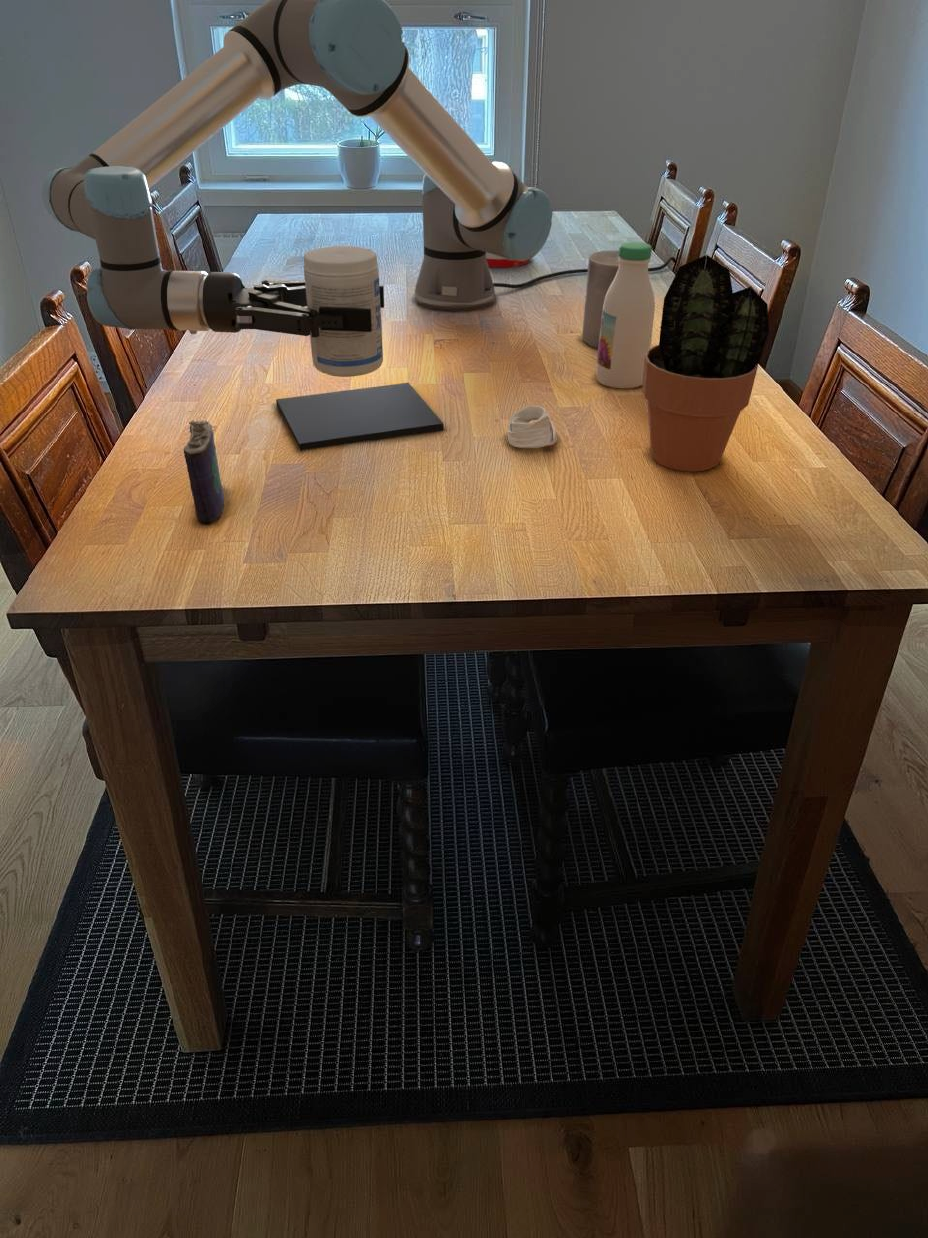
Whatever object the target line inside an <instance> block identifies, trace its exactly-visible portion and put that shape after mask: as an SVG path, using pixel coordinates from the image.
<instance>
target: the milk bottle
mask: <svg viewBox="0 0 928 1238" xmlns="http://www.w3.org/2000/svg"><path fill="white" fill-rule="evenodd" d="M618 250H619V258H618V260H619V268H618V271H617V273H616V276H615V278H614V280H613V282H612V284H611V285H610V287H609V289H608V291H607V294H606V296H605V300H604V304H603V311H602V319H601V329H600V338H599V348H597V360H596V371H595V372H596V373H595V374H596V375H595V378H596V380H597V381H598V382H599V383H600V384H601V385H603V386H607V387H610V388H615V389H634V388H638V387H642V385H643V372H644V358H645V354H646V352H647V351H648V350H649V349H651V345H652V337H653V328H654V319H655V309H656V301H655V293H654V289H653V287H652V283H651V279H650V273H649V272H648V268H649V263H651V257H652V250H653V248H652V245H651V244H649V243H647V242H642V241H626V242H622V243H620V244H619V247H618Z"/></svg>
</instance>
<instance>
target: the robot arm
mask: <svg viewBox="0 0 928 1238" xmlns="http://www.w3.org/2000/svg"><path fill="white" fill-rule="evenodd" d="M403 34H404V30H403V28H402V24H401V21H400V20H399V17H398V15H397V14H396V12H395V11H394V9H393V8H392V7H391V5H389V3H388V2H387V1H386V0H267V1H265V2H264V3H262V4H261V5H259V6H258V7H257V8H255V9H254V10H253V11H252V12H251V13H249V14H248V15H246V17H244V18H243V19H242V20H241V21H239V23H237V24H236V25H235V26H234V27H232V28H230V29H229V31H227V32H226V33H225V34H224V36H223V46H222V47H221V48H220V49H219V50H217V51H216V52H215V53H214V54H212V55H211V56H210V57H209V58H208V59H207V60H205V61H204V62H203V63H201V64H200V65H199V66H198V67H196V68H195V69H194V70H193V71H192V72H189V74H188V75H187V76H186V77H184V78H183V79H181V81H179V82H178V83H177V84H175V85H174V86H173V87H172V88H170V89H169V90H168V91H167V92H166V93H165V94H163V95H162V96H161V97H159V98H158V99H157V100H155V102H153V103H152V104H151V105H149V107H148V108H146V109H145V110H144V111H142V112H141V113H140V114H139V115H137V116H136V117H134V119H132V120H131V121H130V122H129V123H127V124H126V125H125V126H123V128H121V129H120V130H118V132H116V133H115V134H114V135H113V136H111V137H110V138H109V139H108V140H107V141H105V142H103V144H102V145H100V146H99V147H98V148H97V149H95V150H94V151H93V152H91V153H90V154H89V155H87V156H86V157H85V158H83V159H82V160H81V161H80V162H78V163H77V164H76V165H74V166H73V167H72V166H67V167H66V166H65V167H60V168H59V167H58V168H56V169H54V170H51V172H50V173H48V174H47V175H46V176H45V179H44V181H43V183H42V185H41V186H42V187H41V198H42V203H43V205H44V207H45V209H46V211H47V213H48V214H49V215H50V217H52V218H53V220H55V221H56V222H58V223H60V225H63V226H64V227H65V228H66V229H68V230H70V231H74V232H76V233H80V234H81V235H84V236H86V237H89V238H91V239H93V240H95V243H96V247H97V253H98V256H99V263H100V267H98V268H95V269H93V270H91V272H90V273H89V275H88V277H87V280H86V290H87V295H86V300H87V306H88V309H89V311H90V314H91V315H92V317H93V318H94V319H95V321H96V322H97V323H98V324H99V325H102V326H105V327H108V328H109V327H110V328H118V329H127V330H132V331H135V330H156V331H157V330H161V331H164V330H166V331H189V334H190V335H196V334H197V332H208V331H210V330H211V331H212V332H214V333H228V334H229V333H230V334H231V333H232V334H233V333H234V334H235V333H236V334H237V333H239V332H241V330H258V331H265V332H271V333H278V334H279V333H282V334H286V335H295V336H303V337H310V335H311V337H319V328H320V330H332V331H358V332H371V331H372V319H371V309H366V308H338V307H319V314H318V312H317V310H315V309H310V308H307V298H306V288H305V279H299V280H298V279H297V280H270V279H264V280H261V284H255V285H253V287H246V286H245V285H244V284H243V281H242V278H241V277H240V276H239V274H237V273H236V272H227V271H225V272H223V271H220V272H219V271H210V272H209V273H207V271H205V270H167V269H164V268H163V266H162V259H161V254H160V250H159V242H158V237H157V230H156V224H155V217H154V216H155V215H154V211H153V210H154V209H153V205H154V203H153V200H152V197H151V195H150V191H149V189H151V188H152V187H153V186H154V185H155V184H157V183H158V182H159V181H160V180H162V179H163V178H164V177H165V176H166V175H168V174H169V173H170V172H171V171H172V170H174V169H175V168H176V167H177V166H179V165H180V164H181V163H182V162H183V161H185V160H186V159H187V158H188V157H189V156H191V155H192V154H193V153H195V151H197V150H198V149H199V148H200V147H202V146H203V145H204V144H205V143H206V142H208V141H209V140H210V139H211V138H213V137H214V136H215V135H216V134H218V133H219V132H220V131H221V130H223V129H224V128H225V127H226V126H227V125H229V124H230V123H231V122H232V121H233V120H235V119H236V118H237V117H238V116H239V115H241V114H242V113H243V112H244V111H246V110H247V109H248V108H249V107H251V106H252V105H253V104H254V103H255V102H257V100H259V99H260V100H263V101H270V100H272V99H273V98H274V97H275V96H276V95H278V93H280V92H282V91H284V90H286V89H288V88H291V87H293V86H299V85H307V86H313V87H314V86H315V87H320V88H323V89H325V90H326V91H328V92H329V93H330V94H331V95H332V96H333V98H335V99H336V101H338V103H340V104H341V105H342V106H343V107H344V108H345V109H346V110H347V111H348V112H349V113H350V114H351V115H352V116H354V117H356V118H365V117H366V118H367V117H369V118H370V119H371V120H372V121H373V122H374V123H375V124H376V125H377V126H378V127H379V128H380V129H381V130H382V131H383V132H384V133H385V135H387V136H388V137H389V138H390V139H391V140H392V142H394V143H395V144H396V145H397V146H398V147H399V149H400V150H401V151H403V153H404V154H406V156H407V157H408V158H409V159H410V160H411V161H412V162H413V163H414V164H415V165H416V166H417V167H418V168H419V169H420V170H421V171H422V172H423V173H424V175H423V179H422V192H421V199H422V200H421V201H422V203H421V204H422V205H421V206H422V229H423V230H422V232H423V233H422V236H423V238H422V239H423V258H422V262H421V265H420V269H419V273H418V276H417V280H416V283H415V287H414V300H415V301H416V303H417V304H419V305H421V306H423V307H427V308H430V309H434V310H440V311H441V310H442V311H470V310H476V309H481V308H485V307H487V306H490V305H491V304H493V303H494V301H495V300H496V299H495V298H496V290H495V288H507V289H519V288H525V287H527V286H530V285H532V284H533V285H534V284H535V283H537V282H539V281H543V280H548V279H550V278H554V277H558V276H563V275H571V274H582V273H588V268H578V269H568V270H562V271H556V272H553V273H547V274H544V275H540V276H537V277H534V278H532V279H530V280H529V281H525V282H522V283H517V284H512V283H505V282H493V277H492V274H491V271H490V267H488V263H487V260H486V252H487V253H491V254H494V255H498V256H501V257H504V258H506V259H508V260H517V261H526V260H528V259H530V260H531V259H533V258H534V257H535V256H537V255H538V253H539V252H541V250H542V249H543V247H544V246H545V244H546V242H547V241H548V238H549V236H550V232H551V230H552V224H553V222H552V220H553V205H552V201H551V199H550V196H548V194H547V193H546V192H545V191H544V190H541V189H539V188H538V187H536V186H531V187H530V186H528V185H526V184H524V183H523V182H522V180H520V178H519V177H518V175H516V173H515V172H514V171H513V170H512V169H511V168H510V167H509V165H507V163H504V162H501V161H491V160H490V159H489V158H488V156H487V155H486V154H485V153H484V152H483V151H482V149H481V148H480V147H479V146H478V145H477V144H476V142H474V140H473V139H472V138H471V136H469V134H468V133H466V131H465V130H464V128H462V127H461V125H460V124H459V123H458V122H457V121H456V120H455V118H453V116H452V115H451V114H450V113H449V112H448V111H447V109H446V108H445V107H444V106H443V104H441V102H440V101H439V100H438V99H437V98H436V97H435V95H434V94H433V93H432V92H431V91H430V90H429V88H427V86H426V85H425V84H424V83H423V81H422V80H420V79H419V77H418V76H417V75H416V74H415V72H414V71H413V70H412V69H411V68H410V61H411V60H410V52H409V49H408V47H407V46H406V42H405V40H403V36H402V35H403ZM671 261H672V262H673V264H677V263H678V261H677V259H676V258H675V257H674V256H669V257H668V258H667V259H666V261H665V262H663V264H661V265H659V266H655V267H648V273H649V272H656V271H661V270H664V269H665V268H666V267H667V266H668V265H669V264H670V263H671ZM379 287H380V306H381V309H384V307H385V293H384V291H385V290H384V285H379Z"/></svg>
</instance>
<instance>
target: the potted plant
mask: <svg viewBox="0 0 928 1238" xmlns="http://www.w3.org/2000/svg"><path fill="white" fill-rule="evenodd" d="M733 291H734V290H733V285H732V279H731V271H730V269H729V268H728V267H726V266H724V265H722V263H720V262H719V261H717V260H716V259H714V258H713V257H711V256H710V255H708V254H705V255H703V256H701V257H698V258H696V259H694V260H691V261H689V262H687V263H684V264H683V265H680V266H679V267H678V269H677V271H676V273H675V276H674V277H673V279H672V281H671V283H670V286H669V287H668V290H667V291H666V294H665V295H664V298H663V306H662V311H661V312H662V313H661V322H660V327H659V329H660V331H659V341H658V344H657V345H654V346H652V347H650V349H649V350H648V351H647V352H646V354H645V358H644V372H643V384H642V385H641V393H642V395H643V398H644V399H645V400H646V402H647V403H646V404H647V417H648V430H649V431H648V432H649V446H650V455H651V457H652V459H653V460H654V461H655V462H656V463H657V464H659V465H661V466H663V467H665V468H667V469H671V470H675V471H681V472H703V471H708V470H710V469H713V468H716V466H717V465H718V464H720V462H721V459H722V458H723V455H724V453H725V450H726V447H727V445H728V443H729V441H730V438H731V435H732V433H733V431H734V428H735V426H736V424H737V421H738V419H739V416H740V414H741V412H742V411H743V410H744V409H746V408H747V407H748V406H749V405H750V404H749V403H750V400H751V395H752V391H753V388H754V384H755V380H756V375H757V371H758V367H759V364H760V362H761V358H762V356H763V352H764V349H765V346H766V342H767V340H768V336H769V333H770V329H769V328H770V325H769V305H768V303H767V302H766V301H765V300H764V298H763V297H761V296H760V295H759V294H758V292H756V290H754V289H753V287H752V286H748V287H746V288H743V289H741V290H738V291H735V292H733Z"/></svg>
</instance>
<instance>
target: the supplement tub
mask: <svg viewBox="0 0 928 1238" xmlns="http://www.w3.org/2000/svg"><path fill="white" fill-rule="evenodd" d="M303 264H304V265H303V275H304V276H303V277H304V280H305V288H306V298H307V306H306V308H310V309H315V310H317V312H318V314H319V307H338V308H366V309H371V319H372V331H371V332H358V331H332V330H320V328H319V337H311V335H309V338H310V348H311V349H310V350H311V357H312V358H311V359H312V364H313V367H314V368H315V369H316V370H317V371H318V372H320V373H321V374H325V375H329V376H331V377H339V378H351V377H359V376H364V375H368V374H370V373H373V372H376V371H377V370H378V369H380V368H381V366H382V365H383V362H384V348H383V332H382V331H383V330H382V329H383V328H382V310H381V309H382V308H381V306H380V287H379V286H380V273H379V263H378V255H377V252H376V251H375V250H373V249H371V248H368V247H364V246H357V245H327V246H320V247H317V248H312V249H310V250H307V251H306V252H305V253H304V254H303Z"/></svg>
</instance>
